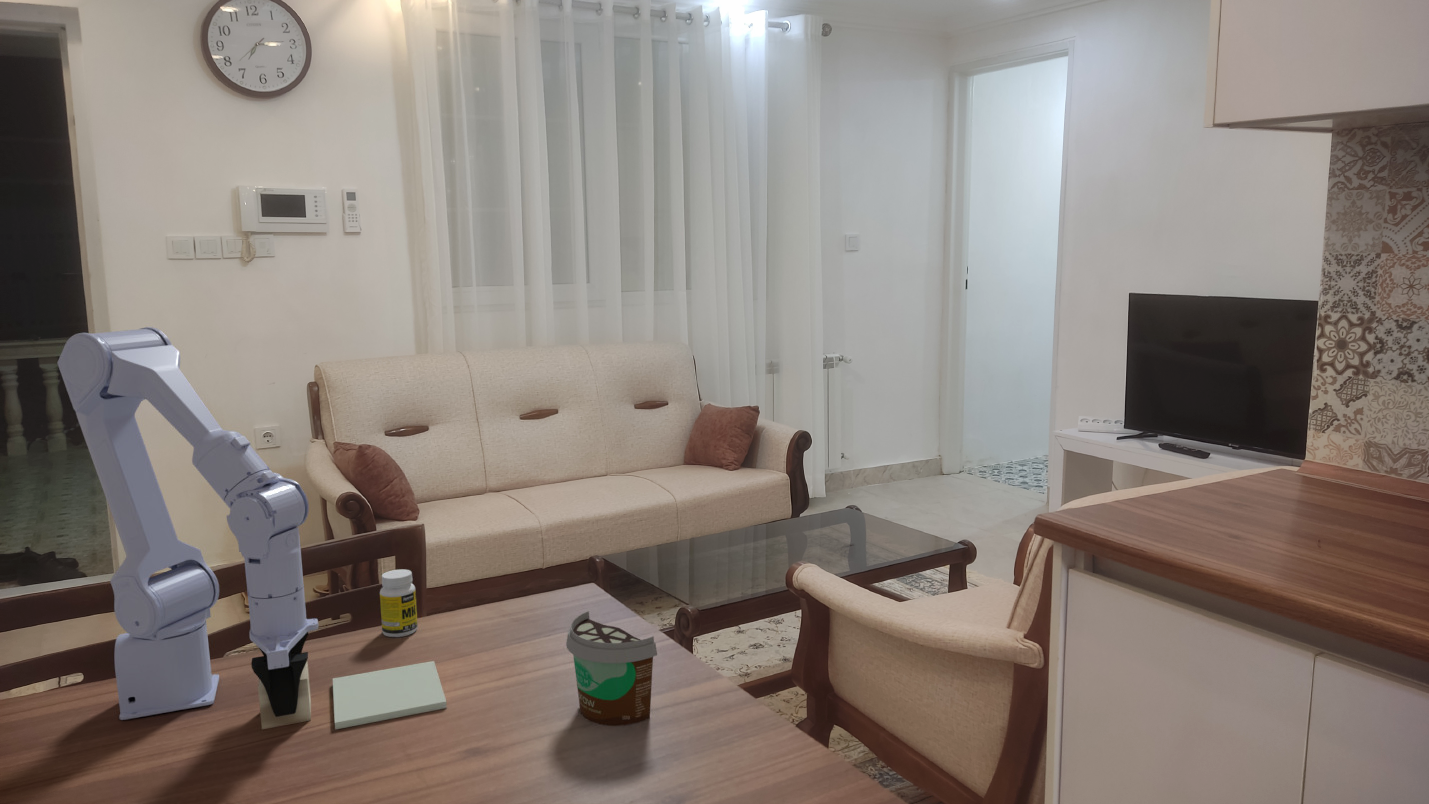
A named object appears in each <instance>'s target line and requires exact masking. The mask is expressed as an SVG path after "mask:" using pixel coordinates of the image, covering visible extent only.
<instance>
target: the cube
mask: <svg viewBox="0 0 1429 804" xmlns="http://www.w3.org/2000/svg"><path fill="white" fill-rule="evenodd" d="M308 663H309V662H308V660H307V662H306V665H305V667H304V669H303V671H302V674H301V678H300V683H299V691H298V702H297V709H296V712H295V714H290V715H284V716H279V717H276V716H275V715H274V712H273V710H272V707H271V704H270V701H269V698H268V695H267V692H266V690H265V687H264V685H263V684H262V682H261V680H260V679H259V678H258V685H257V690H258V700H259V713H260V723H261V730H266V729H272V728H277V727H282V726H287V725H288V726H289V725H291V724H297V723H302V722H303V723H304V722H308V721H311V720H312V719H311V718H312V701H311V700H312V699H311V685H310V674H309V665H308Z"/></svg>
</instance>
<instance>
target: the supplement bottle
mask: <svg viewBox="0 0 1429 804" xmlns="http://www.w3.org/2000/svg"><path fill="white" fill-rule="evenodd" d="M413 580H414V579H413V572H412V571H411V570H410V569H406V568H405V569H402V568H401V569H400V568H399V569H393V570H389V571H386V572H384V573H383V574H382V575H381V586H382V587H381V588H380V590H379V602H380V614H381V630H382V631H381V632H382V634H383V636H385V637H388V638H389V637H390V638H401V637H407V636H410V635H411V634H414V633H415V632H416V631H417V629H418V626H419V625H418V612H417V595H416V592H417V591H416V586H415V584H413Z"/></svg>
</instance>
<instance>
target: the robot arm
mask: <svg viewBox="0 0 1429 804" xmlns="http://www.w3.org/2000/svg"><path fill="white" fill-rule="evenodd" d="M56 364H57V367H58V368H59V369H58V370H59V371H60V375H61V377H62V380H63V383H64V385H65V388H66V392H67V394H68V396H69V400H70V402H71V405H72V409H73V410H74V411H75V416H76V418H77V421H78V423H79V426H80V429H81V432H82V435H83V438H84V441H85V443H86V446H87V448H88V452H89V454H90V457H91V460H92V462H93V466H94V468H95V471H96V474H97V477H98V479H99V482H100V485H101V488H102V490H103V493H104V496H105V500H106V502H107V505H108V507H109V511H110V513H111V516H112V519H113V522H114V525H115V528H116V530H117V533H118V535H119V539H120V541H121V544H122V546H123V547H122V548H123V551H124V552H125V558H124V560H123V561H122V563H121V565H120V566H119V567H118V568H117V570H116V572H114V574H113V575H112V577H111V579H110V584H111V587H112V591H113V595H114V598H113V599H114V601H113V602H114V603H113V604H114V606H113V607H114V609H113V610H114V615H115V618H116V620H117V622H118V624H119V626H120V627H121V628H122V629H123V631H125V633H121V634H118V635H117V637H116V639H115V643H114V655H113V656H114V670H115V678H116V679H115V682H116V689H117V697H118V705H119V712H120V714H119V715H118V716H119V720H121V721H123V720H124V721H125V720H131V719H136V718H141V717H148V716H153V715H159V714H160V715H161V714H163V713H170V712H176V711H180V710H188V709H193V708H199V707H200V708H201V707H205V706H209V705H212V704H214V703H215V700H216V699H215V698H216V694H217V690H218V686H219V685H218V684H219V682H220V674H216V673H215V674H212V665H211V657H210V648H209V647H210V645H209V638H208V626H207V620H208V619H209V618H211V615H212V614H211V608H213V607H214V606H215V605H216V603H217V601H218V599H219V596H220V584H219V580H218V578H217V576H216V574H215V573H214V571H213V570H212V569H211V568H210V566H208V564H207V563H206V561H205V559H204V557H203V553H202V551H201V549H200V548H199V547H196V546H193V545H191V544H188V543H186V542H183V541H182V540H180V539H179V538H178V536H177V533H176V529H175V527H174V524H173V521H172V518H171V515H170V513H169V511H168V510H169V509H168V507H167V504H166V501H165V499H164V496H163V493H162V491H161V488H160V483H159V482H158V478H157V475H156V474H155V470H154V468H153V465H152V462H151V459H150V455H149V453H148V451H147V447H146V444H145V441H144V439H143V436H142V434H141V431H140V428H139V425H138V422H137V419H136V416H135V415H136V412H137V410H138V408H139V406H140V405H141V403H142V402H143V401H145V400H146V401H148V403H149V404H151V406H152V407H153V408H155V409H156V410H157V412H158V413H159V414H160V415H161V416H163V418H164V419H165V420H166V421H167V422H169V424H170V425H171V426H173V429H174V428H175V430H176V431H177V432H178V433H179V434H180V435H181V436H182V437H183V438H184V439H185V440H186V441H187V442H188V443H189V444H190V445H191V446H192V447H193V452H192V458H191V461H192V465H193V466H194V467H195V468H196V470H197V471H198V473H200V475H201V476H202V477H203V478H204V480H206V482H207V483H208V485H210V486H211V488H212V489H213V490H214V491H215V493H216V494H217V495H218V496H219V497H220V499H221V500H222V501H223V502H224V503H225V505H226V506H227V507H228V508H229V509H230V510H229V515H228V514H227V515H226V516H225V517H226V521H227V524H228V527H229V530H230V531H231V533H232V534H233V536H234V537H235V538H236V540H237V544H238V552H240V554H241V556H242V557H243V559H244V569H245V578H246V580H245V581H246V589H247V590H246V591H247V601H248V610H249V611H248V612H249V621H250V629H249V639H250V641H251V642H252V643H253V644H254V645H256V647H258V649H259V651H260V652H261V654H262V655H261V656H255V657H254V656H253V657H252V658H251V662H250V663H251V664H250V665H251V669H252V671H253V674H255V675H256V676H257V678H258V680H259V679H260V680H261V682H262V684H263V685H264V687H265V690H266V692H267V695H268V698H269V701H270V704H271V707H272V710H273V712H274V715H275V716H276V717H279V716H284V715H290V714H295V712H296V709H297V702H298V691H299V683H300V678H301V674H302V671H303V669H304V667H305V665H306V662H307V661H308V658H309V652H308V651H306V652H305V651H304V652H303V649H304V645H305V643H306V641H307V638H308V636H309V632H311V631H317V630H318V629H319V620H318V618H307V609H306V599H305V585H304V577H303V576H304V575H303V563H302V549H301V539H300V538H301V537H300V526H301V525H303V524H304V523H305V521H306V520H307V518H308V516H309V512H310V504H309V500H308V496H307V494H306V493H305V491H304V490H303V488H302V486H301V485H300V483H298V482H297V481H296V480H294V479H291V478H288V477H286V478H285V477H284V476H282V475H281V474H280V473H279V472H278V473H277V472H273V471H272V470H271V468H270V467H269V466H268V465H267V464H266V463H265V461H264V459H262V457H260V456H259V454H258V453H257V452H256V451H255V449H254V448H253V447H252V445H251V442H250V440H248V438H247V437H246V436H245V435H242V433H240V432H238V431H235V430H228V429H223V428H222V427H221V425H220V424H219V423H218V421H217V420H216V418H215V417H214V415H212V413H211V411H210V410H209V409H208V407H207V405H206V404H205V403H204V402H203V401H202V398H200V396H199V395H198V393H197V392H196V391H195V388H193V386H192V385H191V383H190V382H189V381H188V379H187V377H186V376H185V374H183V371H181V369H180V367H181V353H180V350H179V349H178V348H176V347H175V346H174V345H173V344H172V342H171V340H170V339H169V337H168V336H167V335H166V333H164V332H163V331H162V330H161V329H159V328H156V327H154V326H153V327H152V326H145V327H142V328H139V329H128V330H117V331H107V332H106V331H105V332H104V331H103V332H94V333H90V332H89V333H88V332H80V333H75V334H74V335H72V336H70V338H68V339H67V341H66V342H65V344H64V347H63V349H62V351H61V353H60V355H59V358H58V360H57V363H56ZM167 568H168V569H169V570H166V571H165V572H161V573H159V574H156V575H154V576H152V575H153V574H155V573H157V572H159V571H163V570H165V569H167Z"/></svg>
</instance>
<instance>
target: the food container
mask: <svg viewBox="0 0 1429 804" xmlns="http://www.w3.org/2000/svg"><path fill="white" fill-rule="evenodd" d="M565 645H566V648H567V650H568V651H569V653H571V654H572V656H573V664H574V672H575V679H576V688H577V694H578V696H577V697H578V702H579V703H578V704H579V710H580V714H581V715H582V717H583V718H584V719H585V720H587V721H588V722H591V723H593V724H597V725H601V726H610V727H618V726H620V727H621V726H629V725H634V724H638V723H642V722H644V721H646V720H648V719H650V718H651V706H652V705H651V702H652V700H651V699H652V687H653V686H652V685H653V683H652V681H653V666H654V665H653V663H654V657H656V656H658V651H657V645H656V642H655V638H654V635H653V636H651V637H647V638H644V639H640V638H638V637H636V636H634V635H632V634H630V633H629V632H627V631H626V630H623V629H622V628H620V627H617V626H612V625H606V624H602V623H600V622H598V621H595V620H592V619H590V611H589V610H588V611H585V612H583V613H581V614H579V615H577V616H576V617H575V618H574V619H573V620H572V621H571V624H570V626H569V628H568V632H567V638H566V643H565Z"/></svg>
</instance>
